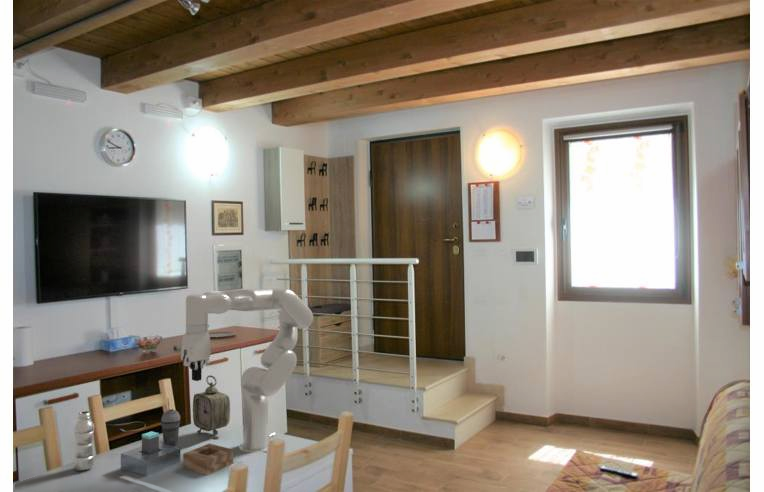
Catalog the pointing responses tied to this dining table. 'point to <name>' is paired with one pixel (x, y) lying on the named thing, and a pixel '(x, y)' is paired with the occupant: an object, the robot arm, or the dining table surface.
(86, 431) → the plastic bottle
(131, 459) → the socket block
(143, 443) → the plug
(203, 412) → the tabletop clock
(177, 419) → the beverage cup
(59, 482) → the dining table surface
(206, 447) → the wooden square hole block
